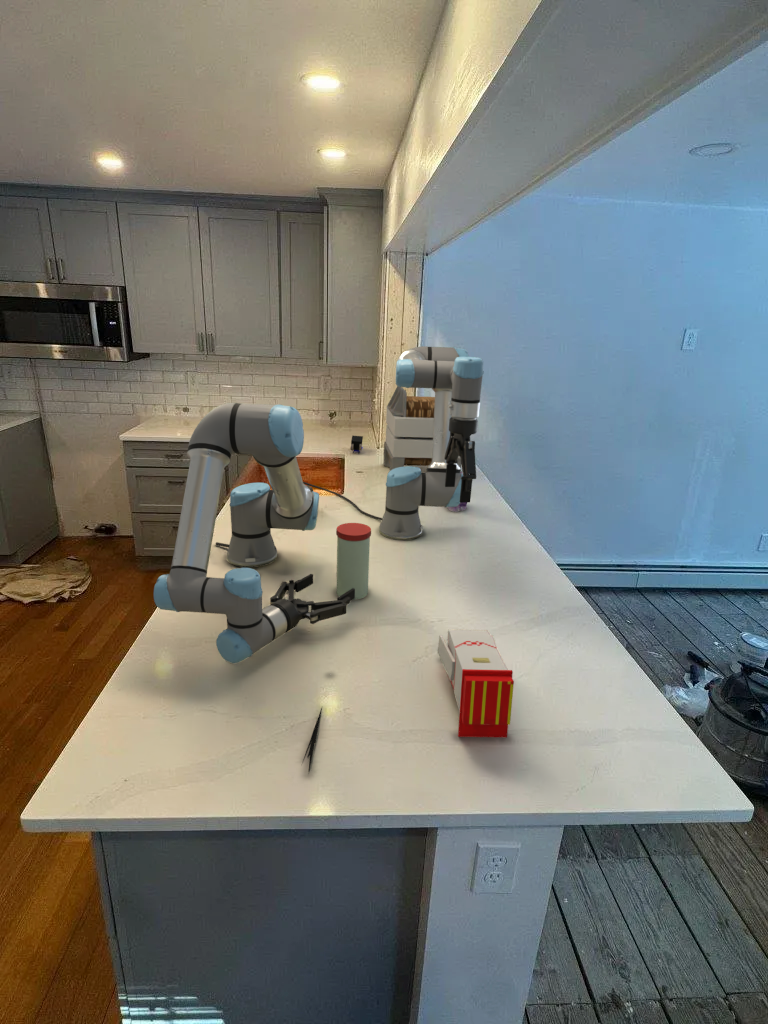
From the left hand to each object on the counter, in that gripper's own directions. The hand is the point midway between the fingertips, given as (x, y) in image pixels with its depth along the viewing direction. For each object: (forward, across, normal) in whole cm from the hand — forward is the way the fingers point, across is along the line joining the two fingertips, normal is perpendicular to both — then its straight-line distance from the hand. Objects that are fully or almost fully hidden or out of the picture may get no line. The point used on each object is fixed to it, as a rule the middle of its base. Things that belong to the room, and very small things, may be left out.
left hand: (332, 585), depth 148 cm
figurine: (+92, -8, -6) cm, 93 cm away
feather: (-36, +25, -6) cm, 45 cm away
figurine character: (+143, -93, -6) cm, 171 cm away
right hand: (+31, +19, +21) cm, 42 cm away
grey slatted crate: (+128, -45, -6) cm, 136 cm away
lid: (+9, 0, +13) cm, 16 cm away
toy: (-12, +45, -6) cm, 47 cm away
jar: (+9, 0, -6) cm, 11 cm away
